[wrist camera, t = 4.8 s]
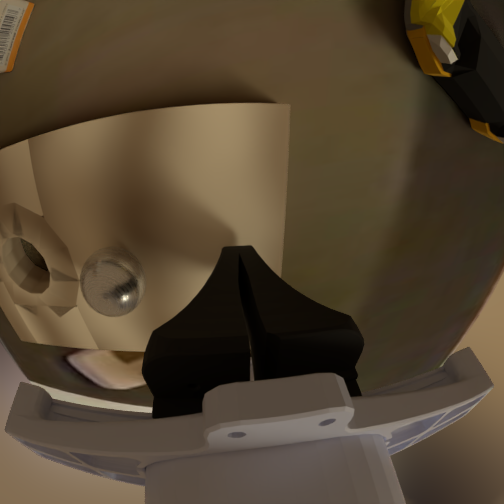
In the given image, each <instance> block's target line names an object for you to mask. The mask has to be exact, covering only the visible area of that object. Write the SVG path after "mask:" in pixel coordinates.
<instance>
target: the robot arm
mask: <svg viewBox="0 0 504 504" xmlns="http://www.w3.org/2000/svg"><path fill="white" fill-rule="evenodd" d="M363 347H364V339H363V337H362V335H361V333H360V331H359V329H358V327H357V325H356V324H355V322H354V321H353V319H352V318H351V316H349V315H347V314H344V313H341V312H338V311H335V310H333V309H330V308H328V307H326V306H323V305H321V304H319V303H317V302H315V301H313V300H311V299H310V298H308V297H306V296H305V295H303V294H301V293H300V292H298V291H297V290H295V289H294V288H292V287H291V286H290V285H288V284H287V283H286V282H284V281H283V280H282V279H281V278H280V277H279V276H278V275H277V274H276V273H275V272H274V271H273V270H272V269H271V268H270V267H269V266H268V265H267V264H266V263H265V261H264V260H263V259H262V258H261V257H260V255H259V254H258V253H257V251H256V250H255V249H254V247H253V246H252V245H245V246H225V247H223V248H222V251H221V254H220V257H219V260H218V262H217V264H216V266H215V268H214V270H213V272H212V273H211V275H210V277H209V278H208V280H207V282H206V283H205V285H204V286H203V287H202V289H201V290H200V291H199V293H198V294H197V295H196V296H195V297H194V298H193V299H192V301H191V302H190V303H189V304H188V305H187V306H186V307H185V308H184V309H183V310H181V311H180V312H179V313H178V314H177V315H176V316H174V317H173V318H172V319H170V320H169V321H167V322H166V323H164V324H163V325H161V326H160V327H158V328H157V329H155V330H153V332H152V334H151V336H150V338H149V341H148V344H147V346H146V350H145V353H144V359H143V365H142V375H143V378H144V380H145V381H146V383H147V385H148V387H149V389H150V391H151V393H152V394H153V396H154V400H153V410H152V413H144V412H132V411H122V410H114V409H106V408H99V407H92V406H86V405H81V404H75V403H70V402H65V401H60V400H56V399H52V397H51V396H50V394H49V393H48V392H47V391H46V390H44V389H43V388H41V387H39V386H35V385H31V384H28V383H24V382H20V385H19V387H18V390H17V393H16V395H15V398H14V401H13V404H12V407H11V410H10V413H9V416H8V420H7V423H6V426H5V431H6V433H8V434H9V435H10V436H12V437H13V438H14V439H16V440H17V441H18V442H20V443H21V444H23V445H24V446H25V447H27V448H28V449H30V450H31V451H33V452H34V453H36V454H37V455H39V456H41V457H44V458H46V459H49V460H51V461H54V462H57V463H60V464H63V465H66V466H69V467H72V468H75V469H78V470H81V471H84V472H87V473H90V474H94V475H98V476H101V477H105V478H108V479H113V480H116V481H121V482H125V483H130V484H135V485H140V486H145V504H406V503H405V500H404V496H403V493H402V490H401V487H400V484H399V481H398V478H397V475H396V472H395V469H394V467H393V463H392V461H391V458H390V455H392V454H395V453H397V452H399V451H401V450H403V449H405V448H407V447H410V446H412V445H413V444H415V443H417V442H419V441H421V440H423V439H425V438H427V437H429V436H430V435H432V434H434V433H436V432H438V431H440V430H441V429H443V428H445V427H447V426H448V425H450V424H452V423H453V422H455V421H457V420H458V419H460V418H462V417H463V416H465V415H466V414H467V413H468V412H469V411H470V410H471V409H472V408H474V406H476V405H477V404H478V403H479V402H480V401H481V400H482V399H483V398H484V397H485V396H486V395H487V394H488V393H489V392H490V391H491V390H492V388H493V387H494V384H493V383H492V381H491V379H490V378H489V376H488V375H487V373H486V371H485V370H484V368H483V367H482V365H481V363H480V362H479V360H478V359H477V358H476V356H475V354H474V353H473V351H472V350H471V349H470V347H467V348H465V349H462V350H460V351H458V352H456V353H454V354H452V355H451V356H450V357H449V358H448V359H447V360H446V362H445V363H444V365H443V366H442V367H440V368H437V369H435V370H432V371H430V372H427V373H424V374H421V375H419V376H416V377H413V378H410V379H407V380H404V381H401V382H398V383H395V384H392V385H388V386H385V387H382V388H378V389H374V390H371V391H367V392H363V393H361V391H360V389H359V386H358V384H357V381H356V379H357V377H358V374H357V371H356V369H355V366H356V363H357V361H358V359H359V357H360V355H361V353H362V351H363ZM250 349H251V357H250Z"/></svg>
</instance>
